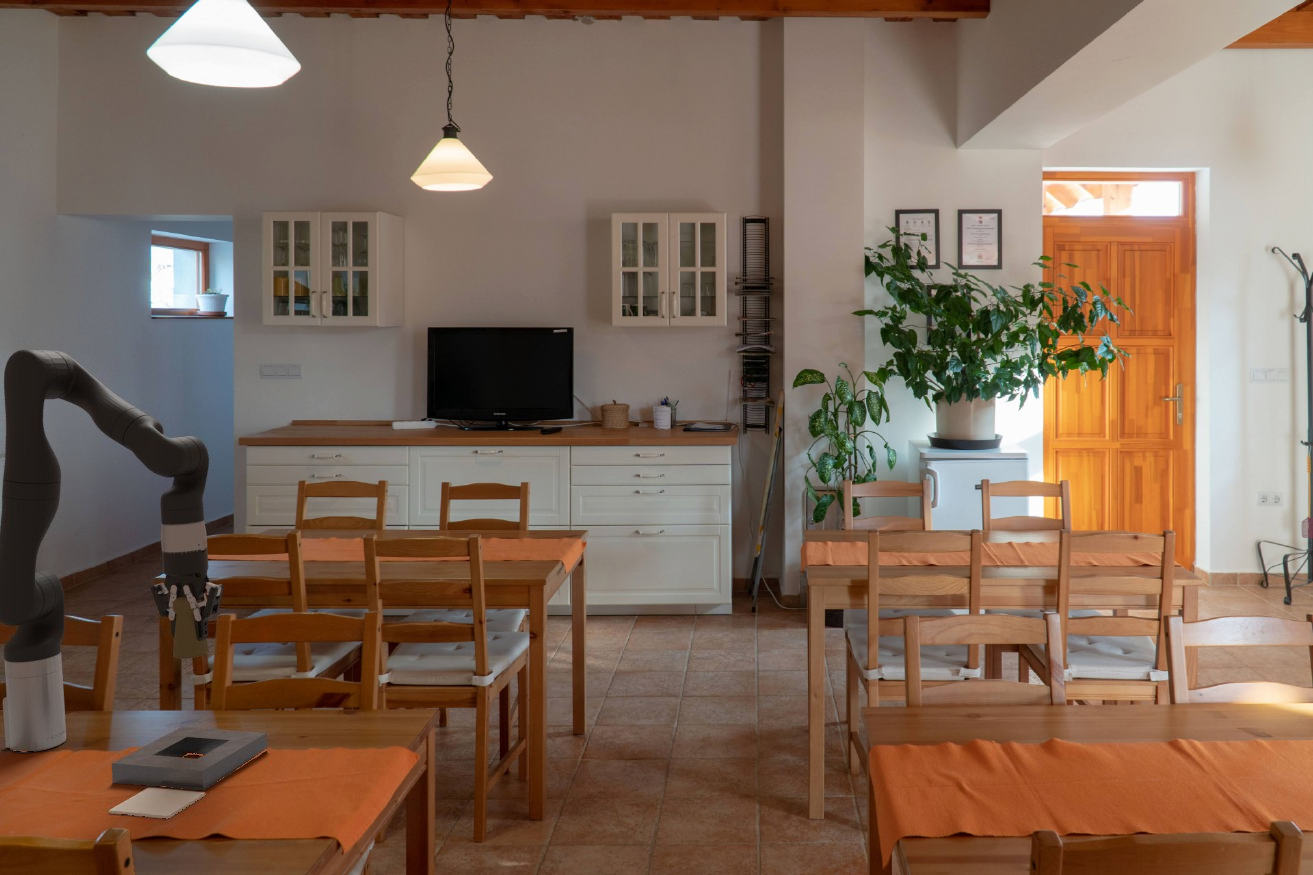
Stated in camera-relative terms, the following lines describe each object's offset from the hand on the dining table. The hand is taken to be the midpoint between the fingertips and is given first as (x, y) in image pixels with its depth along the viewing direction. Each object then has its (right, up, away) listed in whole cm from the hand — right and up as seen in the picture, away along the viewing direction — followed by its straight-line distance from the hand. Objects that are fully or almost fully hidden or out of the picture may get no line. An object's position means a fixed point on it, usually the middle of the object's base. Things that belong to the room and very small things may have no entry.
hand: (190, 639), depth 188 cm
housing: (+2, -22, -4) cm, 22 cm away
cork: (0, -3, 0) cm, 3 cm away
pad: (+4, -23, -20) cm, 31 cm away
